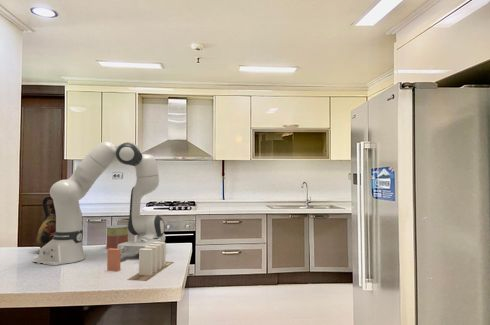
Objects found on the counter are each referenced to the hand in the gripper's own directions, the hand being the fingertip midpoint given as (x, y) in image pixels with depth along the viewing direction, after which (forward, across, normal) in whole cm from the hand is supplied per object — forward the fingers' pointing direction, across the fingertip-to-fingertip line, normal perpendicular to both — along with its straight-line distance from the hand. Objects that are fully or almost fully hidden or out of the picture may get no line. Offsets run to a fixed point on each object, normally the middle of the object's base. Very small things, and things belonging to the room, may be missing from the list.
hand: (130, 251), depth 141 cm
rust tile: (+12, 0, +6) cm, 14 cm away
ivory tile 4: (+11, +16, +5) cm, 20 cm away
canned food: (-31, -26, +6) cm, 41 cm away
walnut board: (+9, +16, +6) cm, 19 cm away
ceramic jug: (-17, -56, +6) cm, 59 cm away
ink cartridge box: (-36, -12, +6) cm, 38 cm away
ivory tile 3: (+7, +16, +5) cm, 18 cm away
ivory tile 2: (+3, +16, +5) cm, 17 cm away
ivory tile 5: (+15, +16, +5) cm, 22 cm away
